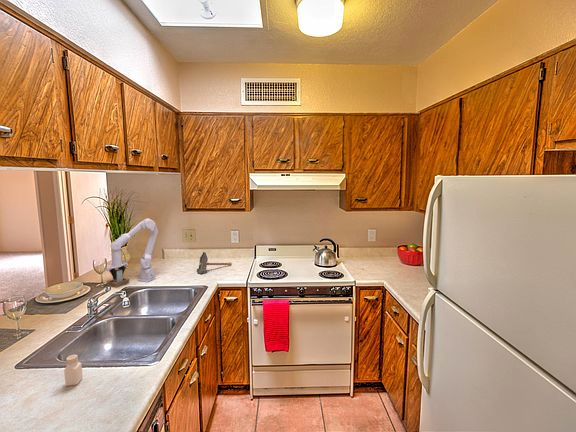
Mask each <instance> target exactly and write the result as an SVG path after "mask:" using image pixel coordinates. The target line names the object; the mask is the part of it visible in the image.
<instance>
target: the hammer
mask: <svg viewBox="0 0 576 432" xmlns="http://www.w3.org/2000/svg"><path fill="white" fill-rule="evenodd" d="M208 259H209V258H208V255H207V253H206V252H205V251H203V252H202V254H201V256H200V257H199V264H198V268H197V269H196V273H199V274H207V273H208V271H209V270H208V269H207V267H208V266H232V262H208Z"/></svg>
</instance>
